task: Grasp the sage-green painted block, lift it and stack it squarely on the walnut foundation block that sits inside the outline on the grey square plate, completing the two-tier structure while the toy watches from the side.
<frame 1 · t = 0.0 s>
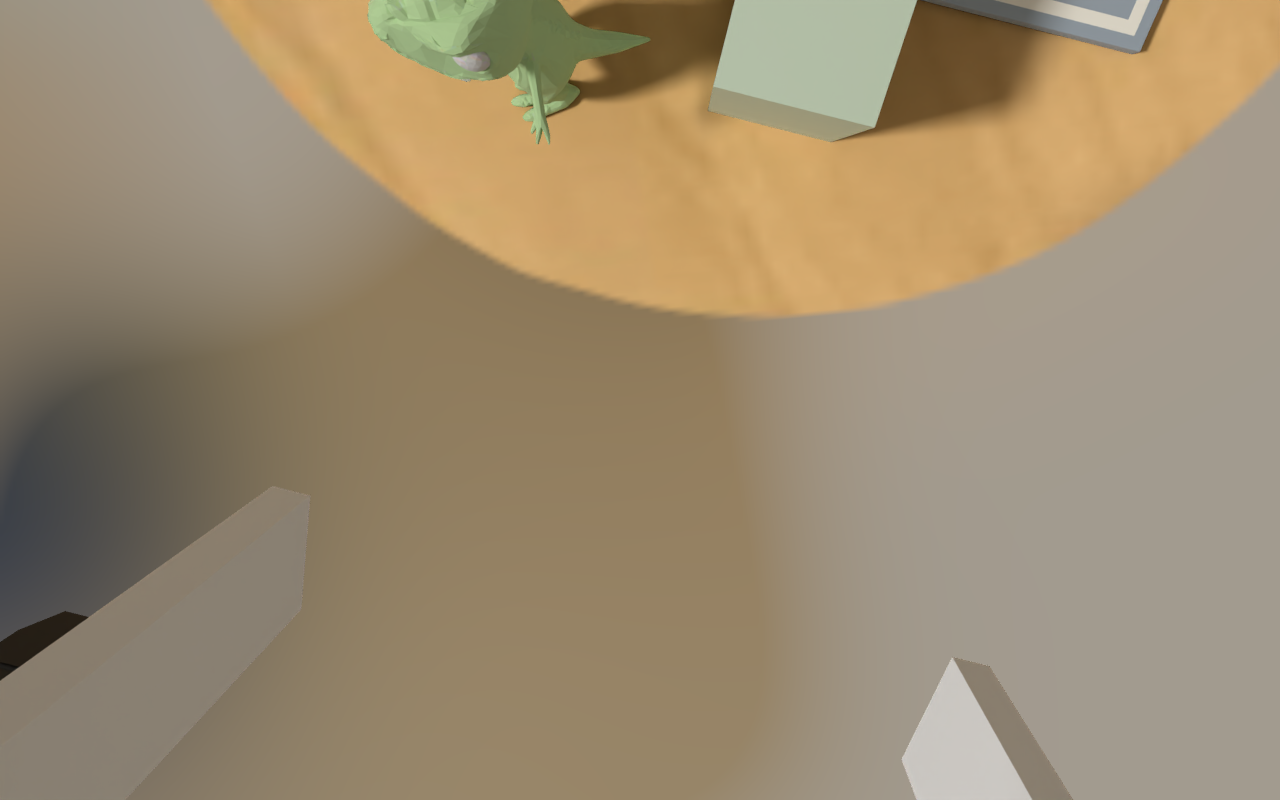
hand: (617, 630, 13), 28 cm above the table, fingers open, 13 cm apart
toy: (560, 63, 35), on the table
sage block: (788, 57, 34), on the table
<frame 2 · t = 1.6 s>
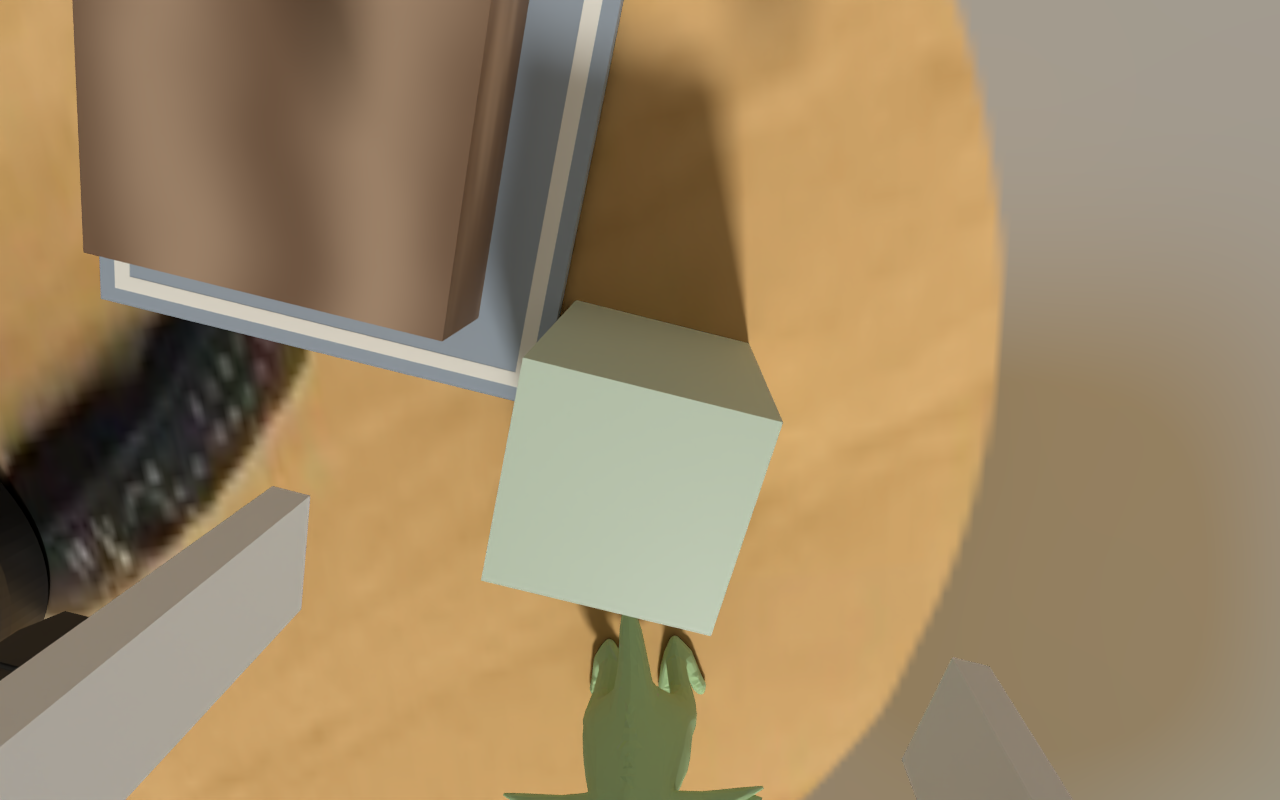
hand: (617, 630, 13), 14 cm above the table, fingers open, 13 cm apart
foundation block: (340, 116, 23), point 1 cm above the table, touching grey square plate
grey square plate: (348, 117, 24), on the table
toy: (643, 649, 30), on the table
sage block: (641, 402, 26), on the table
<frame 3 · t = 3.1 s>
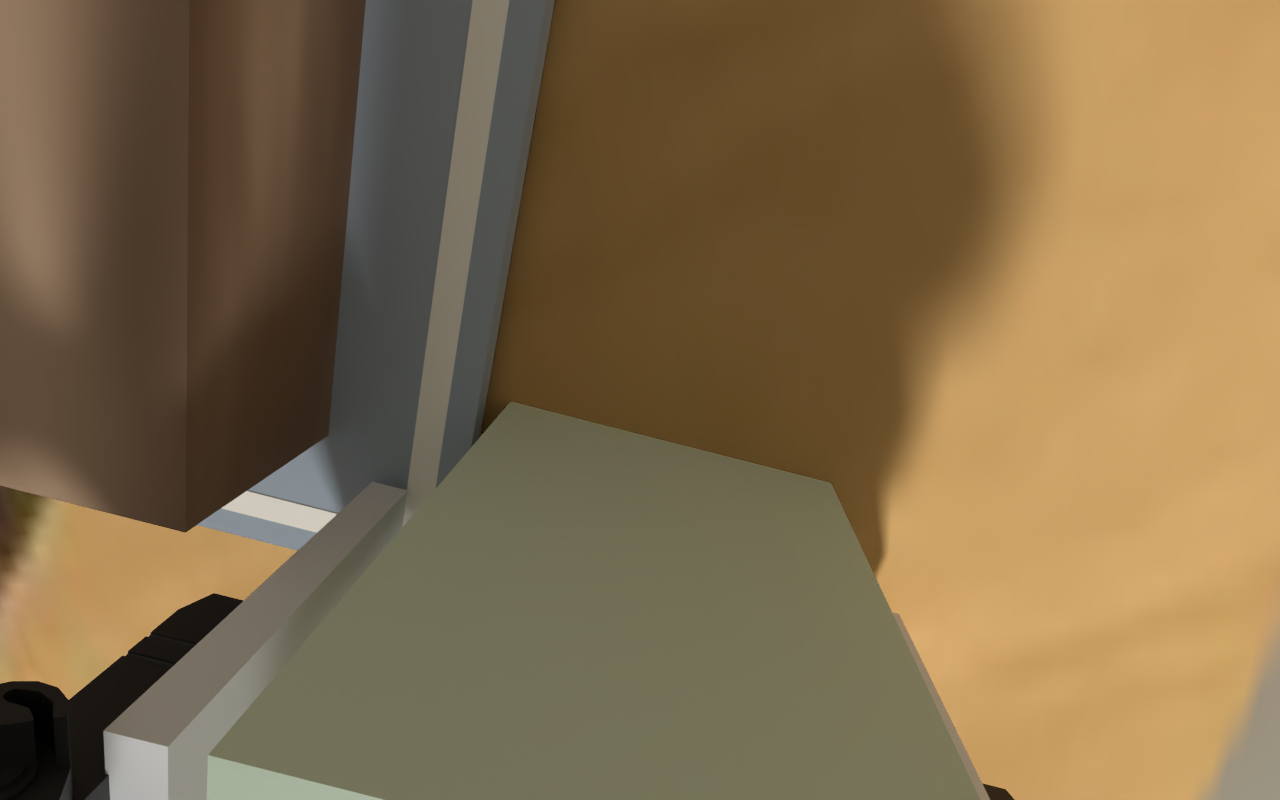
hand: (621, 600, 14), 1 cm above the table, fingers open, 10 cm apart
foundation block: (29, 51, 11), point 1 cm above the table, touching grey square plate
grey square plate: (60, 58, 12), on the table
sage block: (632, 577, 15), on the table
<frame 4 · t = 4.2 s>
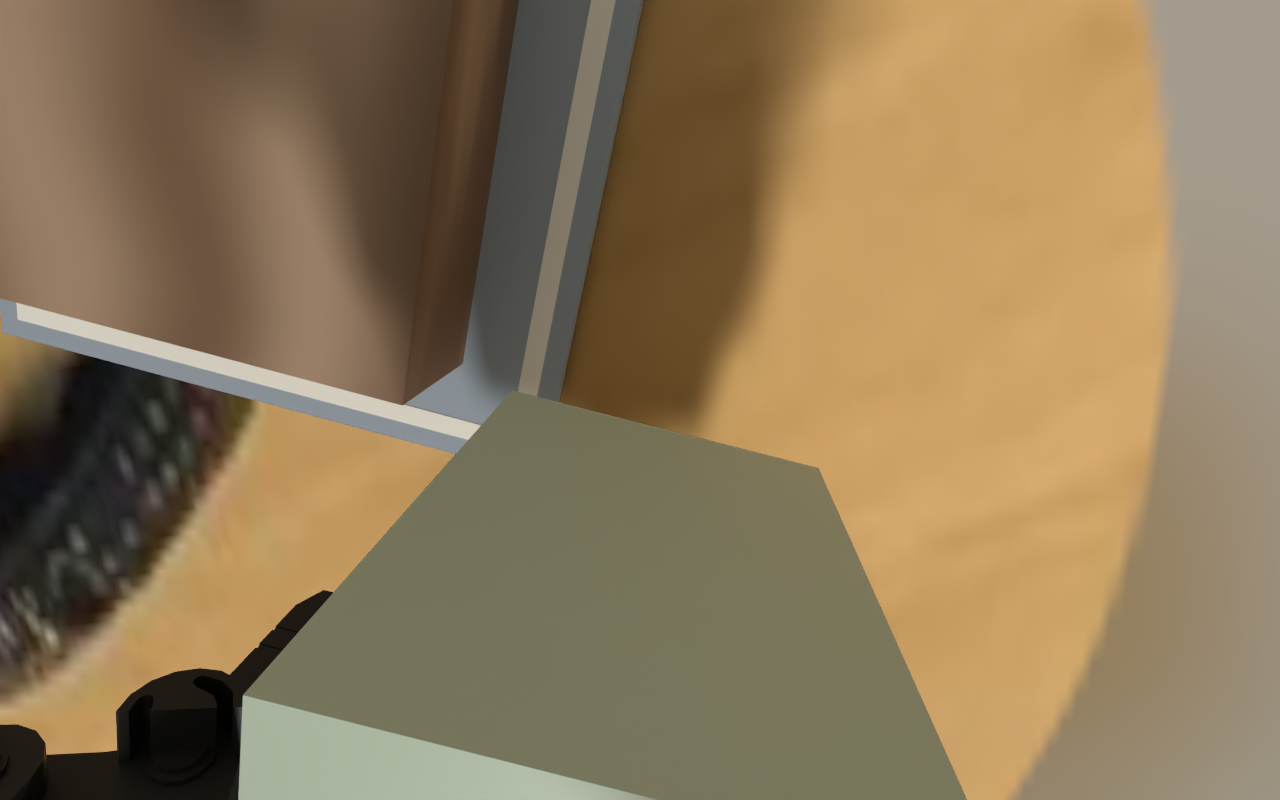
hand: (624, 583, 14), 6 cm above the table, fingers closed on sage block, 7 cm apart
foundation block: (283, 102, 18), point 1 cm above the table, touching grey square plate
grey square plate: (297, 105, 18), on the table
sage block: (629, 561, 15), point 5 cm above the table, touching gripper
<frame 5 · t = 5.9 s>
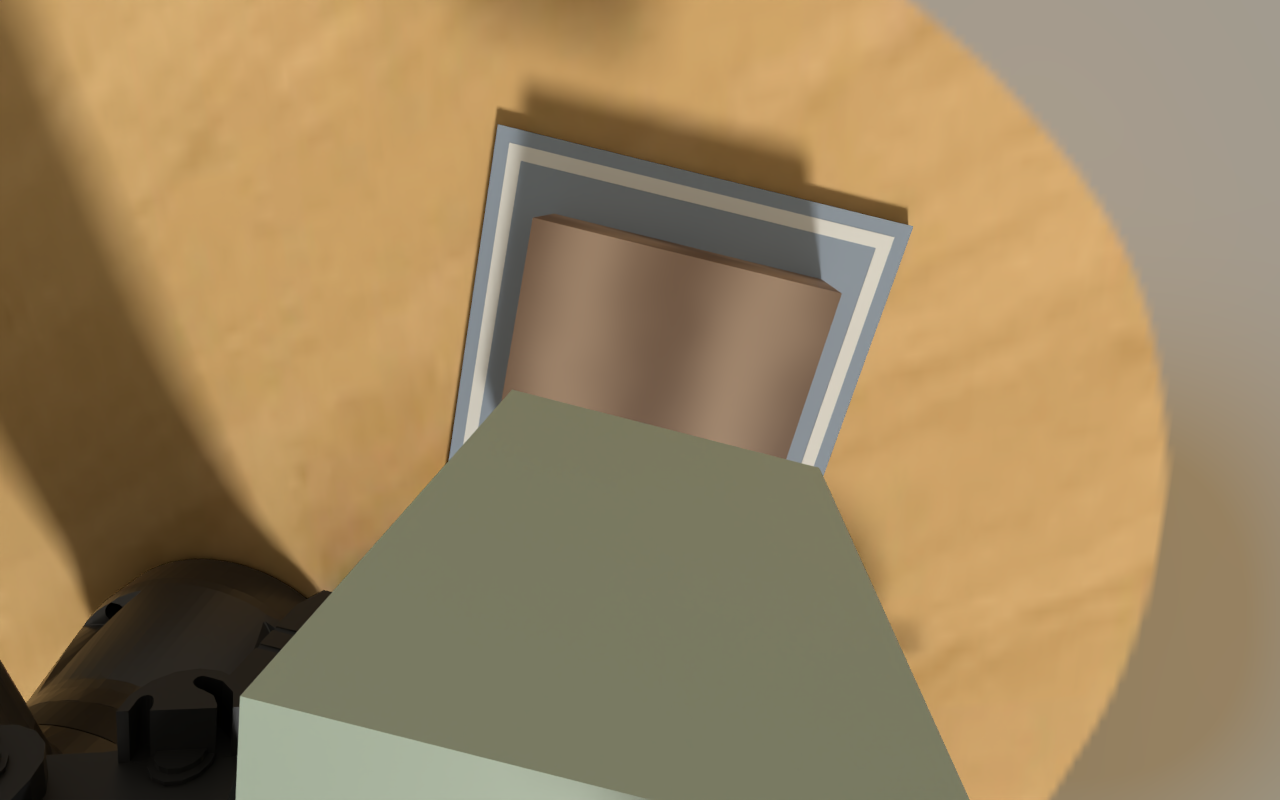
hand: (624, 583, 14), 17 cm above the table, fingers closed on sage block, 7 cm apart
foundation block: (655, 374, 30), point 1 cm above the table, touching grey square plate
grey square plate: (656, 371, 30), on the table
sage block: (629, 561, 15), point 16 cm above the table, touching gripper
when the fingers open (6 cm above the table, at t = 7.7 s): sage block stays where it is, resting on foundation block.
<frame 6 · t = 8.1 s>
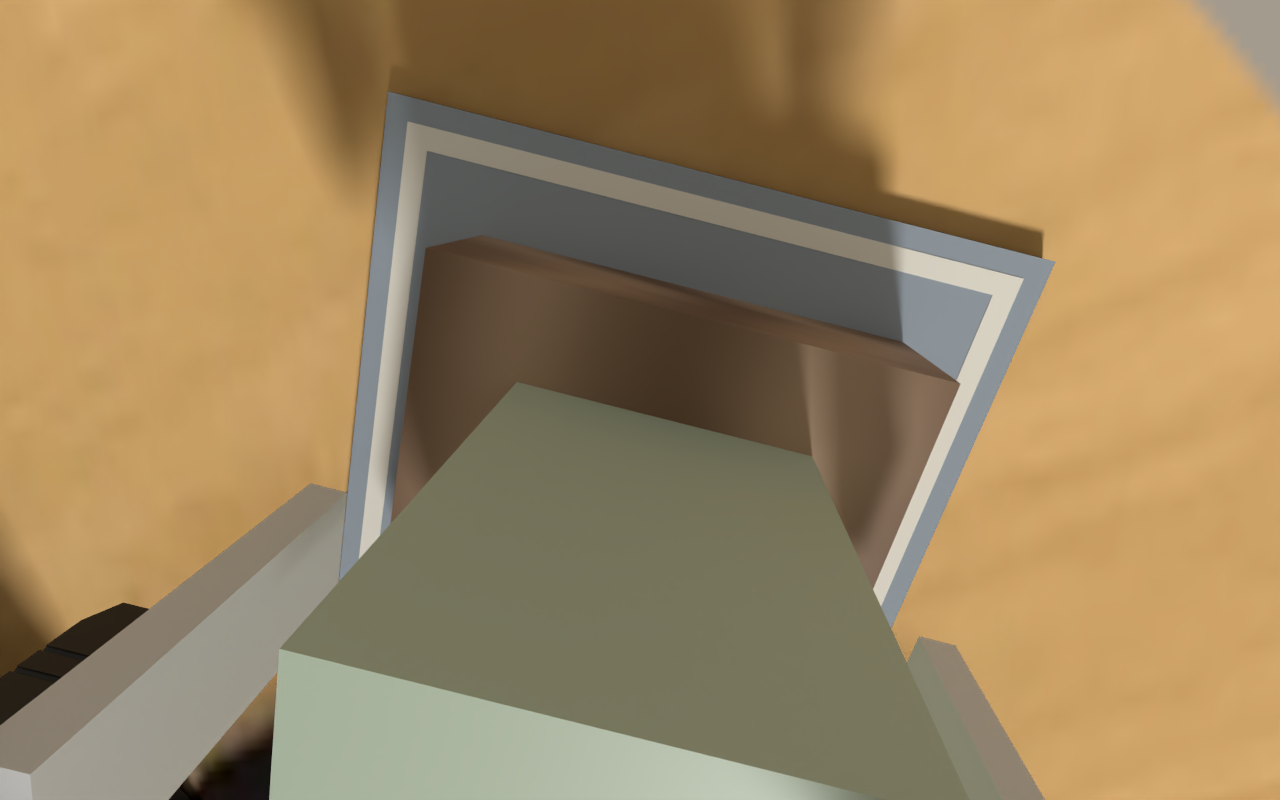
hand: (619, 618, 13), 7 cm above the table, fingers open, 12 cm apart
foundation block: (641, 479, 20), point 1 cm above the table, touching grey square plate, sage block
grey square plate: (643, 471, 20), on the table
sage block: (630, 547, 16), point 5 cm above the table, touching foundation block
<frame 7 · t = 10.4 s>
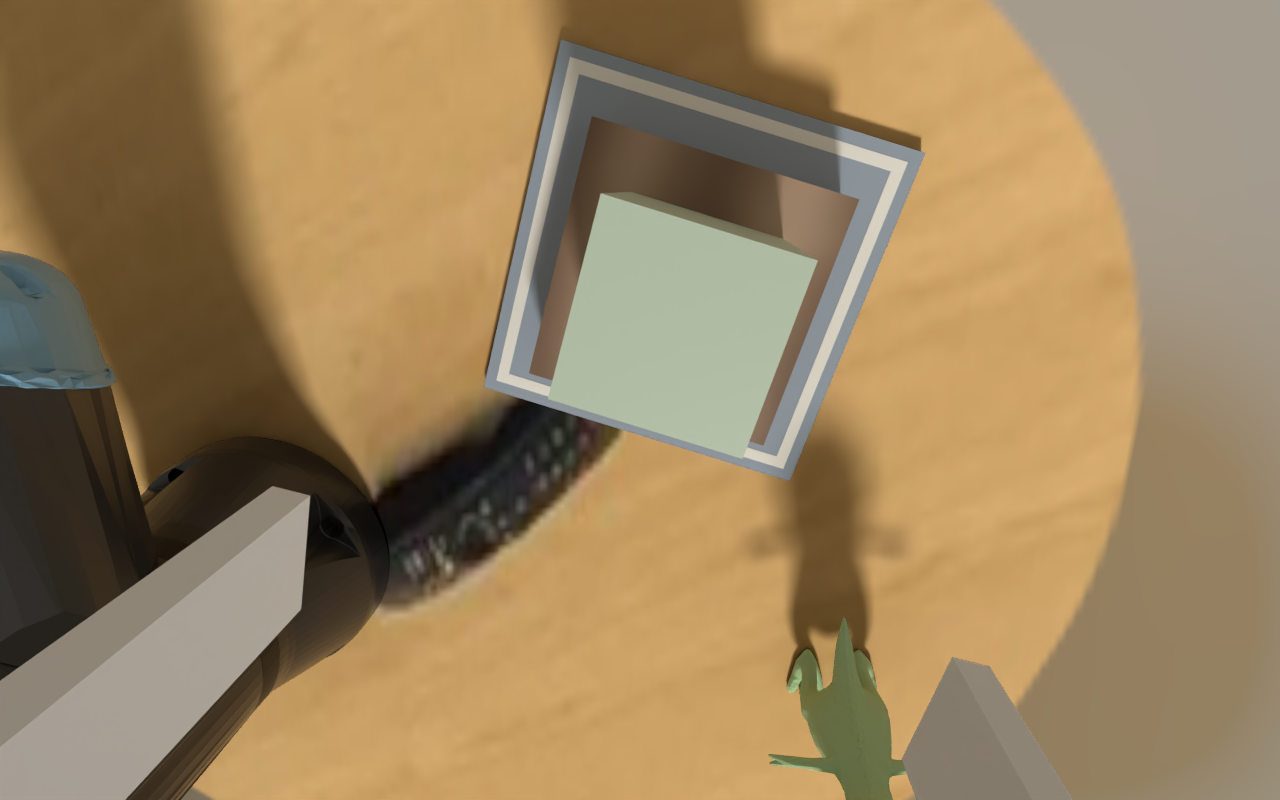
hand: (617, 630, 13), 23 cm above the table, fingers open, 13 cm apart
foundation block: (685, 280, 33), point 1 cm above the table, touching grey square plate, sage block
grey square plate: (685, 278, 34), on the table
toy: (831, 658, 41), on the table
sage block: (683, 291, 29), point 5 cm above the table, touching foundation block
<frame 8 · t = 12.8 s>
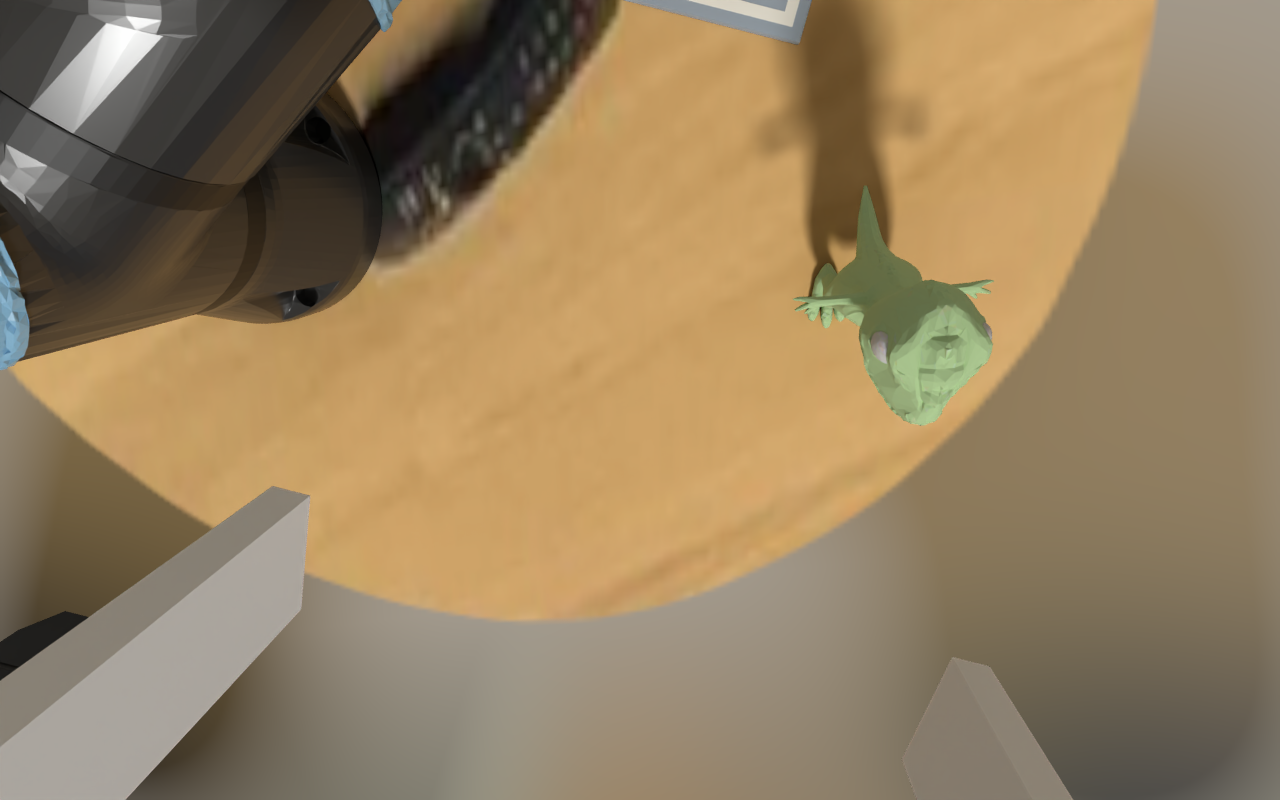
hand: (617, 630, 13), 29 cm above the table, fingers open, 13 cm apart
toy: (852, 275, 38), on the table
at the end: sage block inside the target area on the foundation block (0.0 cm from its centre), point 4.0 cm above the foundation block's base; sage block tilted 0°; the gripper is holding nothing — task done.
